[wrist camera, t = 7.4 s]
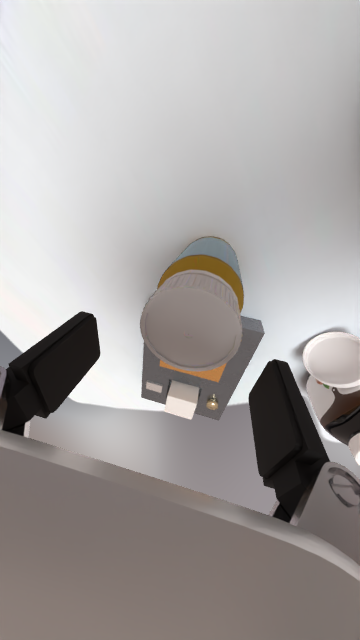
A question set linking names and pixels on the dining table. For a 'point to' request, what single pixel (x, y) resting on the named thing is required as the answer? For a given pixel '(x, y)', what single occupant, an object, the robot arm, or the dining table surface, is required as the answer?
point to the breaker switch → (182, 399)
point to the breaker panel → (203, 374)
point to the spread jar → (335, 385)
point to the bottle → (196, 308)
